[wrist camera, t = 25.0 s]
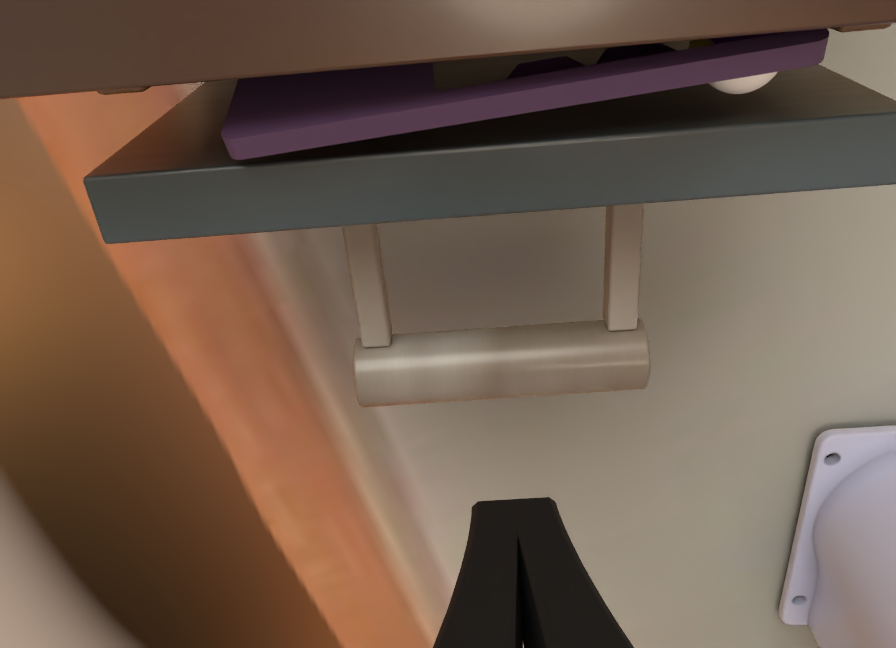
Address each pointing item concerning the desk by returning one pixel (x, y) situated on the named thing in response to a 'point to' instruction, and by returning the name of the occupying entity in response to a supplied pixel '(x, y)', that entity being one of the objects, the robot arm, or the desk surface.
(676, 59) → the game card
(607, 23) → the cabinet
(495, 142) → the drawer
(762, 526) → the desk surface
